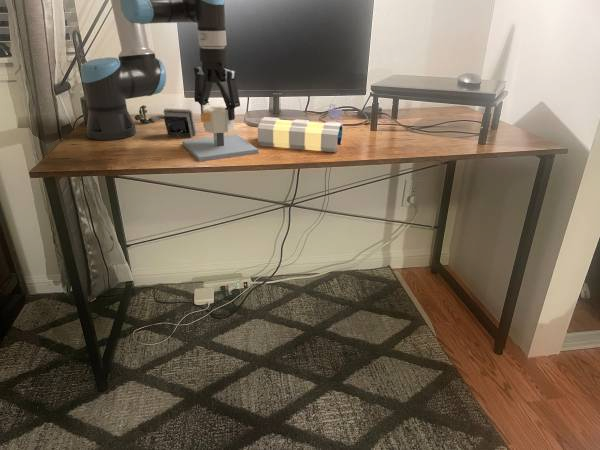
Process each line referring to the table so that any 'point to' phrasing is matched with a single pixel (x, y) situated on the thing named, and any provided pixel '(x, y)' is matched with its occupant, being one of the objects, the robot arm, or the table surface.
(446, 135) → the table surface
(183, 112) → the electrical switch
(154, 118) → the zombie figurine
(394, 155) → the table surface
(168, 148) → the table surface
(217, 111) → the beige octagonal hollow block
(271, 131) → the striped octagonal tube
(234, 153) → the shaft plate
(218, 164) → the table surface
